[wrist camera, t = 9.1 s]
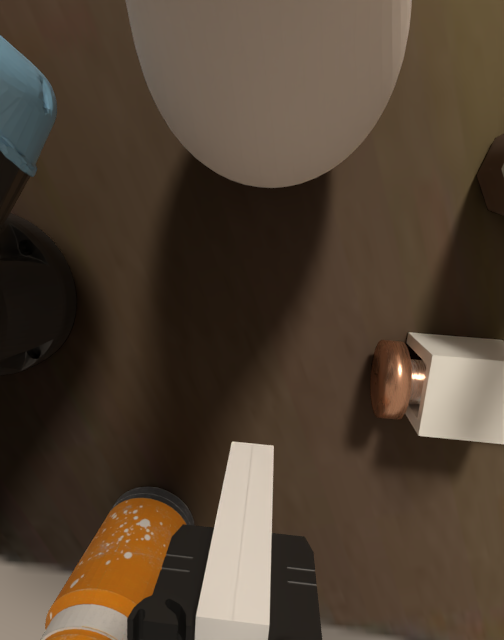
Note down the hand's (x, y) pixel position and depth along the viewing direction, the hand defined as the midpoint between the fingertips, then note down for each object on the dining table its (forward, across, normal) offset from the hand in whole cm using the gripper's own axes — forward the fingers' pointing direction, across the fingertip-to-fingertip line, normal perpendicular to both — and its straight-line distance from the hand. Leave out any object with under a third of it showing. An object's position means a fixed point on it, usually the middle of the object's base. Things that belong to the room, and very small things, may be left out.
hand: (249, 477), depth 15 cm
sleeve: (+23, +17, -3) cm, 28 cm away
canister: (+23, -9, -23) cm, 34 cm away
